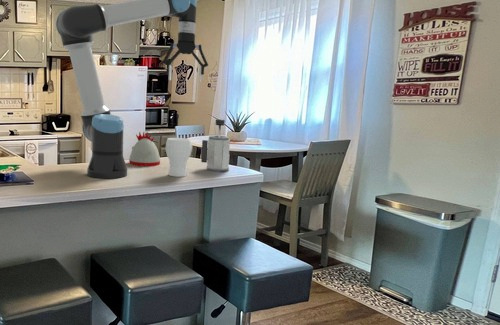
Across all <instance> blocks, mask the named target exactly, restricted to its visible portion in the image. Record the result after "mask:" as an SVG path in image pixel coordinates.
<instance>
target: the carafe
mask: <svg viewBox="0 0 500 325" xmlns="http://www.w3.org/2000/svg"><path fill="white" fill-rule="evenodd" d="M201 142H202V143H201V144H202V145H201V160H200V161H201V163H206V170H207V171H211V172H218V173H220V172H223V173H224V172H228V171H229V170H230V169H229V162H230V144H231V143H230V142H231V140H230V136H227V135H220V137H218V135H209V136H208V139H207V140H206V139H202V141H201Z"/></svg>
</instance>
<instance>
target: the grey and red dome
mask: <svg viewBox="0 0 500 325" xmlns="http://www.w3.org/2000/svg"><path fill="white" fill-rule="evenodd" d="M135 136H136V138H137V142H135V144H134V145H133V146H132V147H131V152H130V155H129V158H128V159H129V160H128V161H129V162H128V163H129V165H131V166H135V167H136V166H137V167H156V166H159V165H161V158H160V153H159V150H158V148H157V145H156V144H155V143H154V142H153V141H154V139H155V136H153V137H152V138H151V136H152V134H151V133H150V134H149V133H148V131H146V134H145V131H143V133H141V131H139V133H138V134H137V133H136V134H135Z"/></svg>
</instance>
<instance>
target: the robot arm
mask: <svg viewBox="0 0 500 325" xmlns="http://www.w3.org/2000/svg"><path fill="white" fill-rule="evenodd" d="M163 16H165V17H173V18H178V27H177V28H178V29H177V31H178V33H177V43H174V42H171V43H170V45H169V48H168V51H167V53H166V54H165V56H164V58H163V60H162V63H163V64H164V65H166V73H168V81H172V63H173V62H174V61H175V60H176V59H177V57H179V55H180V54H182V55H192V56H193V57H194V59H195V60H196V62H197V63H198V64H199V66H200V67H199V70H198V71H199V73H198V82H199V83H201V82H202V76H203V75H204V74H205V68H206V67H208V66H209V63H208V61H207V58H206V57H205V54H204V51H203V46H202V44H196V34H195V33H196V26H197V25H196V24H197V23H196V22H197V21H196V20H197V0H130V1H126V2H125V1H124V2H119V3H112V4H107V5H106V4H105V5H101V4H99V3H97V4H88V5H75V6H70V7H68V8H66V9H64V10H63V11H60V13H59V14H58V16H57V18H56V21H55V27H56V28H55V29H56V30H57V33H58V35H59V36H60V39H61V43H62V46H63V47H64V48H65V49H66V50H68V54H69V58H70V61H71V66H72V69H73V73H74V79H75V81H76V86H77V90H78V94H79V98H80V101H81V105H82V109H83V110H82V111H81V113H80V118H81V121H82V127H81V128H82V133H83V135H84V137H85V138H86V139H87V140H89V141H90V142H91V157H90V159H89V160H90V161H89V164H88V167H87V170H86V172H87V173H86V175H87V176H88V177H92V178H97V179H117V178H122V177H126V176H128V167H127V164H126V161H125V158H124V128H125V125H124V120H123V118H122V117H121V116H118V115H115V114H111V109H110V108H109V107H107V106H106V105H105V101H104V95H103V92H102V88H101V84H100V80H99V75H98V71H97V67H96V63H95V58H94V54H93V51H92V50H93V49H92V46H93V45H94V43H95V41H94V36H93V35H94V34H96V33H100V32H104V31H105V32H106V30H107V29H108V28H109V27H115V26H120V25H124V24H129V23H135V22H140V21H144V20H149V19H154V18H155V19H156V18H158V17H163ZM174 49H177V51H176V52H175V53H174V54H173V55H172V57H171V58H170V56H171V54H172V52H173V50H174ZM196 49H197V51H198V52H199V54H200V56H201V59H202V61H201V59H200V58H199V56H198V55H197V54H196V52H195V50H196Z"/></svg>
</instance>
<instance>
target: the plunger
mask: <svg viewBox="0 0 500 325" xmlns="http://www.w3.org/2000/svg"><path fill="white" fill-rule="evenodd" d="M215 126H218V133H217V136H218V137H220V136H222V135H221V131H222V127H223V126H225V119H222V118H221V119H219V118H217V119H215Z"/></svg>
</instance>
